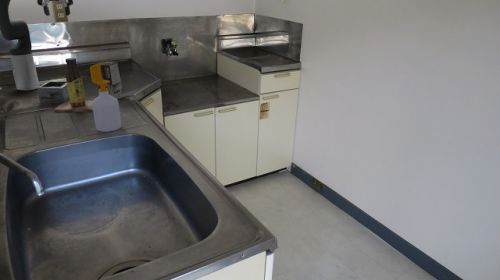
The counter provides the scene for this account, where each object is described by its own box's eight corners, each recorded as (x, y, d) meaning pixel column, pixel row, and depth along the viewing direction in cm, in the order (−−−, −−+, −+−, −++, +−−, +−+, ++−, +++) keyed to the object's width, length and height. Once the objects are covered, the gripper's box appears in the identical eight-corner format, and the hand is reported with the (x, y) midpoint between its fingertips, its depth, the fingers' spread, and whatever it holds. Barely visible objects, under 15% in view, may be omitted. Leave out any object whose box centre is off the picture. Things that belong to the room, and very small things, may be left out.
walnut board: (54, 111, 160) (54, 109, 159) (66, 102, 171) (65, 100, 170) (93, 111, 160) (93, 109, 160) (102, 102, 171) (102, 100, 171)
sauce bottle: (80, 107, 162) (71, 60, 154) (67, 106, 163) (58, 60, 155) (89, 102, 168) (81, 57, 160) (76, 102, 169) (68, 56, 161)
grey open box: (36, 105, 167) (32, 90, 164) (51, 95, 181) (48, 81, 178) (61, 105, 167) (58, 90, 165) (75, 95, 182) (72, 80, 179)
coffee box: (124, 96, 180) (119, 62, 173) (114, 100, 174) (109, 65, 168) (109, 94, 183) (104, 60, 177) (99, 98, 178) (94, 63, 171)
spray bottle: (107, 134, 138) (96, 66, 128) (91, 129, 142) (79, 63, 132) (126, 126, 145) (118, 61, 135) (110, 121, 149) (101, 58, 139)
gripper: (70, -25, 165) (77, 14, 172) (37, -25, 165) (45, 14, 171) (63, -25, 159) (71, 16, 165) (28, -25, 158) (37, 16, 164)
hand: (57, 15), depth 168 cm, fingers open, 8 cm apart
